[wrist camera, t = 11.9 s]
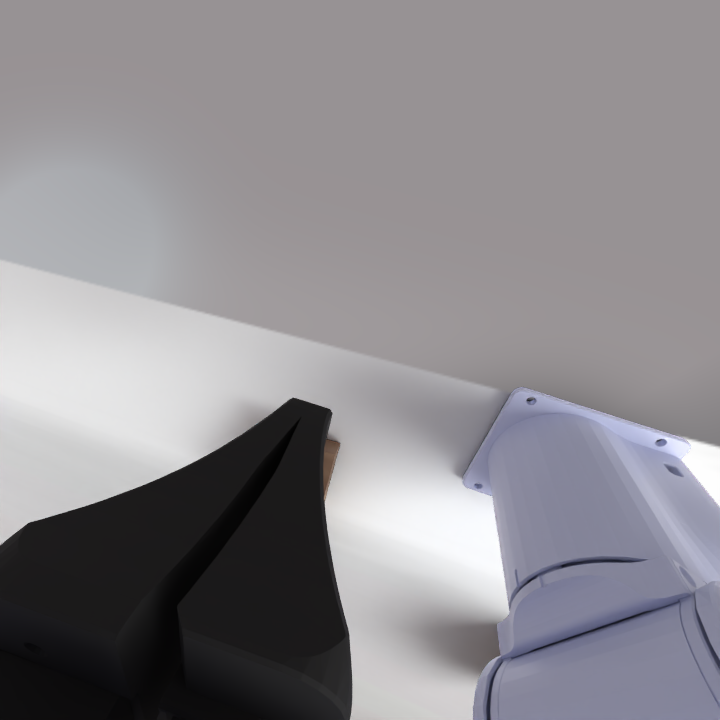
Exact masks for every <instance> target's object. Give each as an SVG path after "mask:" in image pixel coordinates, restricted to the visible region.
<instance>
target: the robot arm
mask: <svg viewBox="0 0 720 720" xmlns="http://www.w3.org/2000/svg"><path fill="white" fill-rule="evenodd" d="M530 397H534V398H535V399H534V400H532V401H527V399H528V398H530ZM331 417H332V412H331V410H330V409H328V408H325V407H322V406H318V405H315V404H312V403H309V402H306V401H303V400H299V399H296V398H292V399H290V400H288V401H287V402H286V403H285V404H283V405H282V406H281V407H280V408H278V409H277V410H276V411H274V412H273V413H272V414H270V415H269V416H268V417H266V418H265V419H264V420H262V421H261V422H259V423H258V424H256V425H255V426H254V427H252V428H251V429H249V430H248V431H246V432H245V433H243V434H242V435H240V436H239V437H237V438H235V439H234V440H232V441H230V442H229V443H227V444H226V445H224V446H222V447H221V448H219V449H217V450H216V451H214V452H212V453H210V454H208V455H207V456H205V457H203V458H201V459H199V460H197V461H195V462H193V463H191V464H189V465H187V466H185V467H183V468H181V469H179V470H177V471H175V472H173V473H170V474H168V475H166V476H164V477H162V478H160V479H157V480H155V481H153V482H150V483H148V484H145V485H143V486H140V487H138V488H135V489H132V490H130V491H127V492H124V493H122V494H119V495H116V496H114V497H111V498H108V499H106V500H103V501H100V502H97V503H94V504H91V505H88V506H85V507H82V508H78V509H75V510H71V511H68V512H65V513H61V514H58V515H55V516H51V517H48V518H45V519H41V520H38V521H34V522H30V523H28V524H27V525H25V526H24V527H23V528H22V529H20V530H19V531H18V532H16V533H15V534H14V535H12V536H11V537H10V538H9V539H7V540H6V541H5V542H4V543H3V544H2V545H0V720H350V716H351V707H352V668H351V654H350V640H349V631H348V627H347V624H346V620H345V616H344V612H343V608H342V604H341V600H340V596H339V592H338V587H337V582H336V578H335V573H334V568H333V562H332V556H331V550H330V545H329V539H328V532H327V523H326V515H325V503H324V485H323V462H324V447H325V442H326V438H327V434H328V430H329V426H330V421H331ZM659 439H662V440H661V441H658V442H656V441H657V440H659ZM690 449H691V445H690V444H689V443H688V441H687V440H686V439H684V438H682V437H679V436H675V435H672V434H669V433H666V432H663V431H660V430H657V429H653V428H650V427H647V426H644V425H641V424H638V423H635V422H631V421H628V420H625V419H622V418H619V417H616V416H612V415H609V414H606V413H603V412H600V411H597V410H594V409H590V408H588V407H584V406H581V405H578V404H575V403H572V402H569V401H566V400H563V399H559V398H556V397H553V396H550V395H547V394H544V393H540V392H537V391H534V390H531V389H528V388H525V387H520V388H517V389H514V390H513V392H512V393H511V395H510V396H509V398H508V400H507V402H506V403H505V405H504V407H503V409H502V410H501V412H500V414H499V415H498V417H497V419H496V421H495V422H494V424H493V426H492V428H491V429H490V431H489V433H488V434H487V436H486V438H485V440H484V441H483V443H482V445H481V447H480V448H479V450H478V452H477V453H476V455H475V457H474V459H473V460H472V462H471V464H470V466H469V467H468V469H467V471H466V472H465V474H464V476H463V479H462V480H463V485H464V486H465V487H467V488H469V489H472V490H475V491H478V492H481V493H484V494H487V495H490V496H492V498H493V504H494V511H495V518H496V524H497V531H498V538H499V544H500V551H501V558H502V564H503V571H504V578H505V584H506V591H507V598H508V604H509V611H510V612H509V615H508V617H507V618H506V619H505V620H503V621H501V622H500V623H498V624H497V631H498V640H499V648H500V656H498V657H496V658H494V659H493V660H491V661H490V662H489V663H488V664H487V665H486V666H485V668H484V669H483V671H482V673H481V675H480V677H479V679H478V683H477V687H476V690H475V697H474V705H473V720H720V507H719V506H718V504H717V503H716V502H715V501H714V499H713V498H712V497H711V496H710V495H709V493H708V492H707V491H706V490H705V488H704V487H703V486H702V485H701V484H700V482H699V481H698V480H697V479H696V477H695V476H694V475H693V474H692V472H691V471H690V470H689V469H688V468H687V466H686V465H685V464H684V463H683V461H682V460H681V459H682V458H683V457H684V456H685V455H686V454H687V453H688V452H689V450H690ZM476 483H481V484H476Z"/></svg>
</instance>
